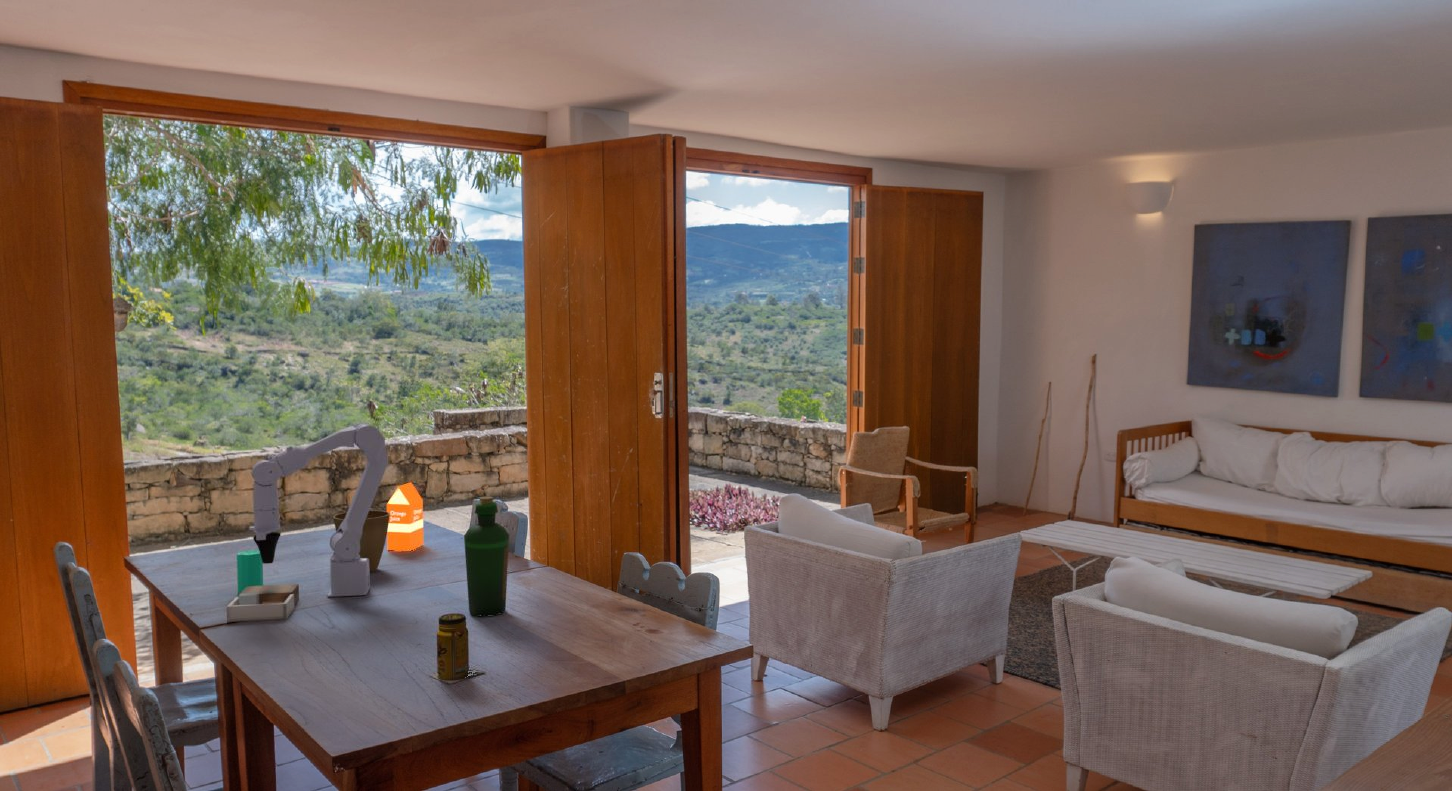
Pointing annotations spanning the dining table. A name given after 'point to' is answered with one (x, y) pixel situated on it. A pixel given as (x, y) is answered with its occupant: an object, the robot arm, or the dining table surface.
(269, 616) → the tray
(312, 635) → the dining table surface
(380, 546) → the plant pot
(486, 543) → the bottle
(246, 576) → the candle
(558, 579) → the dining table surface
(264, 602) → the tile terracotta
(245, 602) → the grey rectangular prism
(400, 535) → the orange juice
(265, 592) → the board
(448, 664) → the condiment
